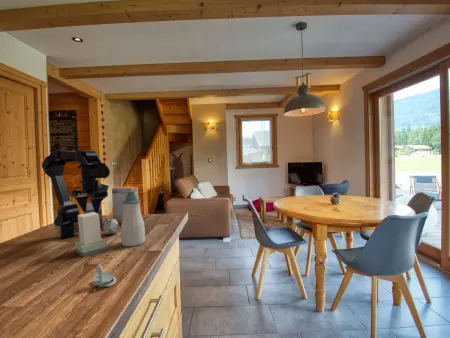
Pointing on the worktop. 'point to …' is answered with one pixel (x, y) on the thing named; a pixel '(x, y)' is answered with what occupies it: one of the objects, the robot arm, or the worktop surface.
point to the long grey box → (90, 209)
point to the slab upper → (90, 246)
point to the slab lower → (91, 251)
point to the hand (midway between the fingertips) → (90, 212)
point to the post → (89, 228)
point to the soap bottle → (132, 221)
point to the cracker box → (120, 201)
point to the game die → (111, 226)
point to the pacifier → (103, 278)
